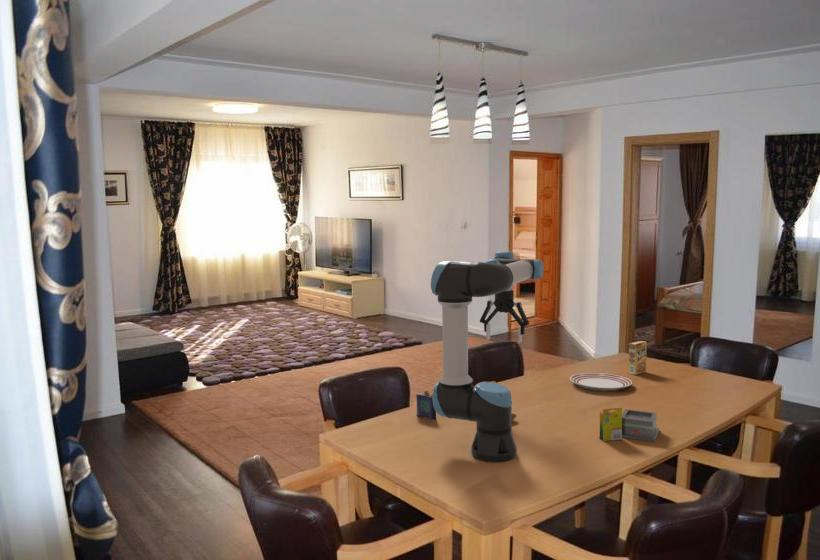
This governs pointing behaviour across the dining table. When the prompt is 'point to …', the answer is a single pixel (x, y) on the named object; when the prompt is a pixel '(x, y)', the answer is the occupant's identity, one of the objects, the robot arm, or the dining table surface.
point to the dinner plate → (600, 381)
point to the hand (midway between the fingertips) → (504, 341)
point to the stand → (639, 425)
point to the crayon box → (611, 424)
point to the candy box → (637, 357)
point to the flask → (425, 405)
